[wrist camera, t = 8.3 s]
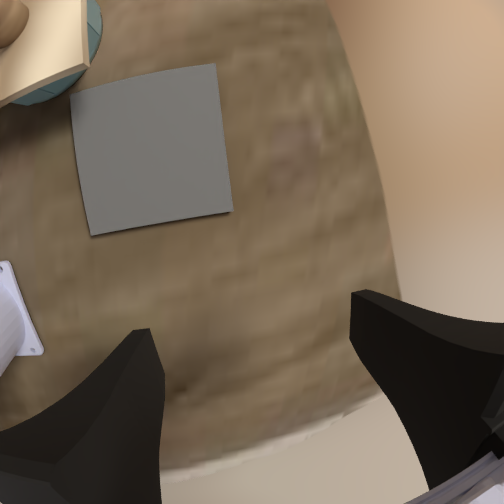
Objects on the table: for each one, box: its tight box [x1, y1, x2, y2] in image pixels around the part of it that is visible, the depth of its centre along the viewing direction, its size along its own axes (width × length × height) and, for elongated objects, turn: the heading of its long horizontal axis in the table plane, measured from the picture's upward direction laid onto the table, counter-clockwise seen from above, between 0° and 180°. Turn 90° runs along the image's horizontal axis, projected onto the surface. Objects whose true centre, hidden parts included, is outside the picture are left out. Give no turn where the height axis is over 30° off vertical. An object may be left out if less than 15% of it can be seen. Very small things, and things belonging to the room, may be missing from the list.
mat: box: [70, 63, 233, 236], centre depth 17 cm, size 9×9×1 cm
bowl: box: [10, 0, 103, 106], centre depth 11 cm, size 8×8×4 cm
